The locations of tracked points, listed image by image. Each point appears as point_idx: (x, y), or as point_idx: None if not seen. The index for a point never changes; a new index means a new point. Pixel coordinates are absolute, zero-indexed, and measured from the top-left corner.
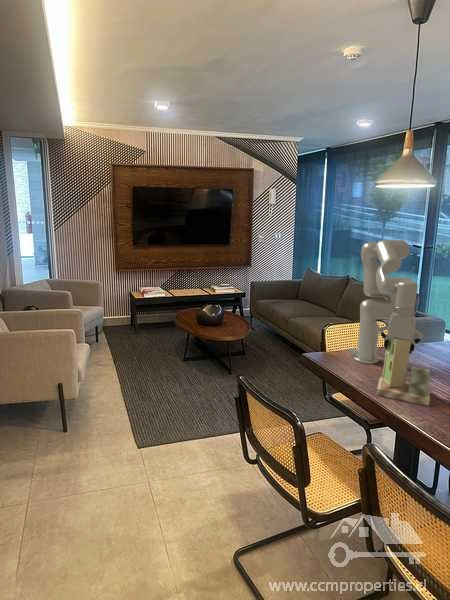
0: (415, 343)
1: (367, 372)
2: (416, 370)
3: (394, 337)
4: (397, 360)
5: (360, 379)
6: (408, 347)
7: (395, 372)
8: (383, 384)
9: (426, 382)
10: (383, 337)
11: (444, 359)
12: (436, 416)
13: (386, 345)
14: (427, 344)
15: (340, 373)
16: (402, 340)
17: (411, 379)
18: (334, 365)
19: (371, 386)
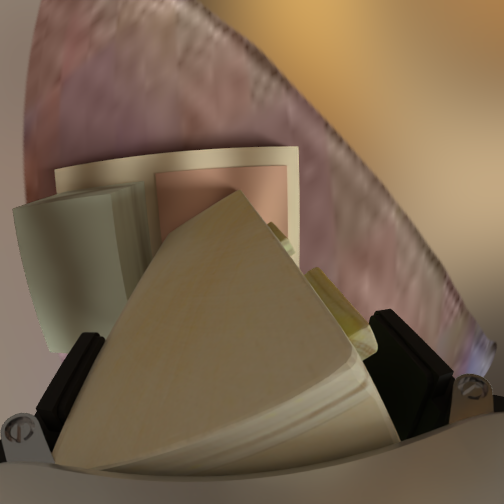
0: (3, 427)
1: None
2: (97, 301)
3: (411, 442)
4: (223, 240)
5: (365, 286)
6: (100, 378)
7: (223, 213)
8: (274, 213)
9: (41, 201)
10: (493, 399)
11: None
12: (46, 89)
13: (406, 335)
14: None
15: (430, 296)
16: (185, 436)
17: (115, 189)
18: (439, 350)
19: (319, 236)
